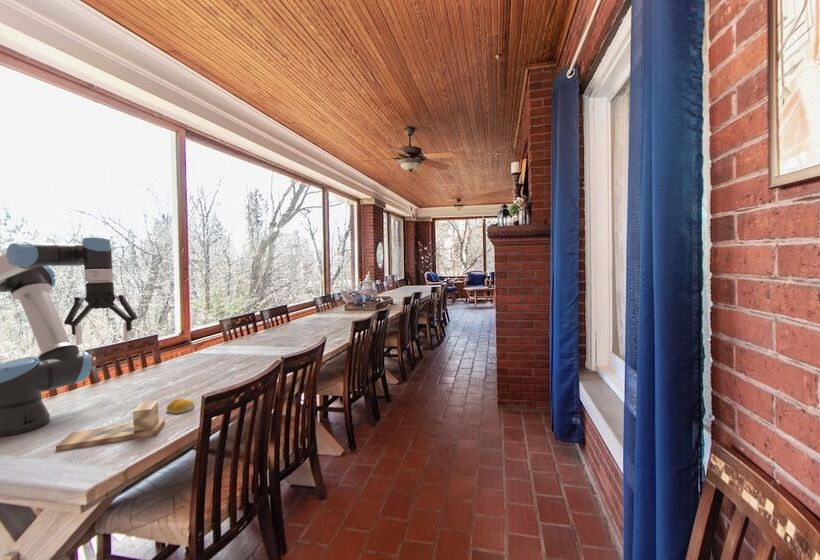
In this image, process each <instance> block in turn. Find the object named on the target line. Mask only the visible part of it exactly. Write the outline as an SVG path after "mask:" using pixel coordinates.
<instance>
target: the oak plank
mask: <svg viewBox="0 0 820 560" xmlns="http://www.w3.org/2000/svg"><path fill="white" fill-rule="evenodd" d="M165 421H166V420H165V418H162V419H159V421H158V422H157V424H156V425H155V427H154V428H153V430H150V431H143V432H136V433H134V424H133V422H132V423H127V424H121V425H113V426H106V427H99V428H93V429H92V428H91V429H86V430H78V431H73V432H70V433H69V434H68V435H67V436H66V437H65V438H63V440H61V441H60V442H59V443H58V444H57V445H55V449H56V450H55V451H56V452H60V451H65V450H71V449H78V448H84V447H89V446H97V445H102V444H109V443H116V442H121V441H129V440H134V439H141V438H146V437H147V438H148V437H153V436H158V435H159V434H160V431H161V430H162V428H163V426H164V425H165V423H166V422H165Z"/></svg>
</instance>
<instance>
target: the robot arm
mask: <svg viewBox="0 0 820 560" xmlns="http://www.w3.org/2000/svg"><path fill="white" fill-rule="evenodd" d="M111 245H112V244H111V239H109V238H108V237H104V236H102V237H98V236H86V237H84V238H82V243H80V244H79V243H43V242H42V243H41V242H39V243H38V242H14V243H13V242H11V243H10V244H9V245H8V247H7V248H6V252H5V253H3V254H1V255H0V293H5V292H8V293H9V292H10V294H11V296H12V298H14V299H15V300H19V301H20V304H21V306H22V309H23V312H24V313H25V316H26V319H27V321H28V324H29V325H30V328H31V331H32V334H33V336H34V339H35V340H36V343H37V346H38V348H39V350H40V353H39V355H38V356H26V357H21V358H15V359H12V360H9V361H6V362H2V363H0V437H1V438H2V437H8V436H9V437H10V436H15V435H19V434H23V433H26V432H30V431H33V430H36V429H39V428H41V427H43V426H45V425H47V424H48V423H50V422H51V415H50V413H49V410H48V408H47V407H46V405H45V404H44V402H43V397H42V393H43V392H46V391H51V390H55V389H59V388H61V387H66V386H71V385H75V384H78V383H80V382H83V381H85V380H86V379H87V378H88V377H89V376H90V374H91V371H92V359H91V358H92V357H91V356H90V353H89V352H88V351H86V350H80V349H79V347H78V345H83V344H84V341H83V329H82V327H83V326H82V324H80V323H81V322H82V321H83V319H84V318H85V317H86V316H87V315H88V314H89V313H90V312H91V311H92V310H93V309H94V310H98V309H107V308H108V309H110V310H112V311H113V312H114V313H115V314H116V315H118V317H119V318H121V319H122V320H123V321H124V322H122V327H123V341H124V342H128V341H129V340H130V331H132V330H133V324H132V322H133V321H135V320H137V319H138V315H137V314H136V313H135V311H134V309H133V308H132V306H131V305H130V303H129V302H128V301H127V297H126V294H123V293H122V294H119V295H115V290H114V288H115V287H114V283H113V280H114V273H113V258H112V255H113V254H112V253H113V252H112V246H111ZM52 266H53V267H55V266H56V267H59V266H60V267H61V266H62V267H63V266H65V267H66V266H67V267H68V266H73V267H77V266H78V267H80V266H81V267H82V266H84V267H83V268H84V269H83V270H84V279H85V280H84V281H85V282H86V283H85V293H86V294H85V296H82V295H81V296H75V297H74V301H73V305H72V307H71V309H70V310H69V312H68V314H67V316H66V318H65V320H64V322H63V323H62V321H61V318H60V315H59V313H58V311H57V309H56V305H55V303H54V302H53V299H52V297H51V295H50V293H51V292H52V291H53V288H54V286H55V285H56V278H55V277H56V275H55V271H54V270H53V268H52ZM115 300H117V302H119V303H120V305H121V306H122V307H123V309H124V310H122V309H121V308H120V307H119V306H118V305H117V303H114V302H115ZM84 302H85V303H87V305H86V306H85V307H84V309H83V310H82V311H81V312H80V313H79V314H78V312H79V309H80V308H81V306H82V304H83V303H84ZM124 311H125V312H124ZM77 314H78V315H77ZM76 315H77V316H76ZM63 324H64V325H69V326H71V333H72V336H75V344H73V343H71V342H70V339H69V337H68V335H67V332H66V330H65V327H64V325H63Z"/></svg>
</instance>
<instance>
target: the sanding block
mask: <svg viewBox="0 0 820 560" xmlns="http://www.w3.org/2000/svg"><path fill="white" fill-rule="evenodd" d="M159 415H160V414H159V400H154V401H144V402H140V403H139V404H138V405H137V406H136V408H135V409H133V411H132V416H133V417H132V418H133V419H132V420H133V422H132V423H133V424H134V433H136V432H143V431H150V430H153V428H154V427H155V425H156V424H157V422H158V421H159V420H160V419H159V417H160V416H159Z"/></svg>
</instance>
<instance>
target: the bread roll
mask: <svg viewBox="0 0 820 560" xmlns="http://www.w3.org/2000/svg"><path fill="white" fill-rule="evenodd" d="M194 407H195V403H194V401H193V400H191V399H185V398H177V399H173V400H172V401H171V402H170V403H168V405H167V406H166V411H167V412H168V413H171V414H172V413H173V414H182V412H183V413H186V411H187V412H189V411H191V410H192V409H193V408H194Z"/></svg>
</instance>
